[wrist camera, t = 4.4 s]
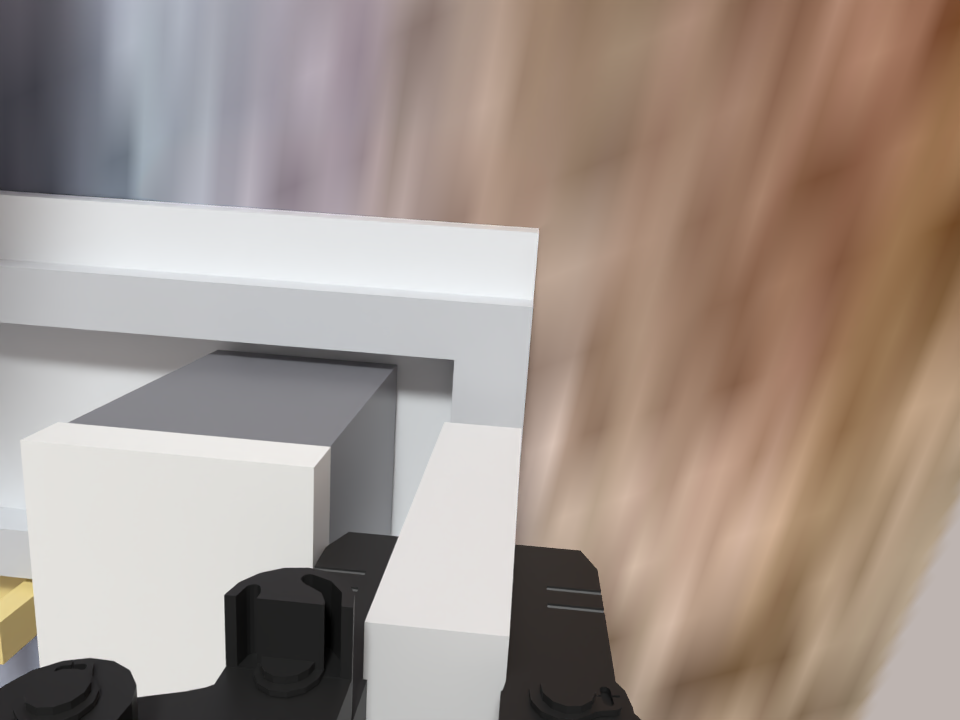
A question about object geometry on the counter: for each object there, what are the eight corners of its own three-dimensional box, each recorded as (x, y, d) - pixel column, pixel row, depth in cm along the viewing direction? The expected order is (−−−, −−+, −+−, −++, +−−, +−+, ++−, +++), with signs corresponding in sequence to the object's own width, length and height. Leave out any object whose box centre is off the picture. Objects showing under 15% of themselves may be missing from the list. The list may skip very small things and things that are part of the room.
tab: (218, 518, 17) (42, 698, 11) (215, 347, 16) (20, 440, 10) (392, 535, 16) (310, 729, 10) (399, 362, 15) (314, 468, 10)
